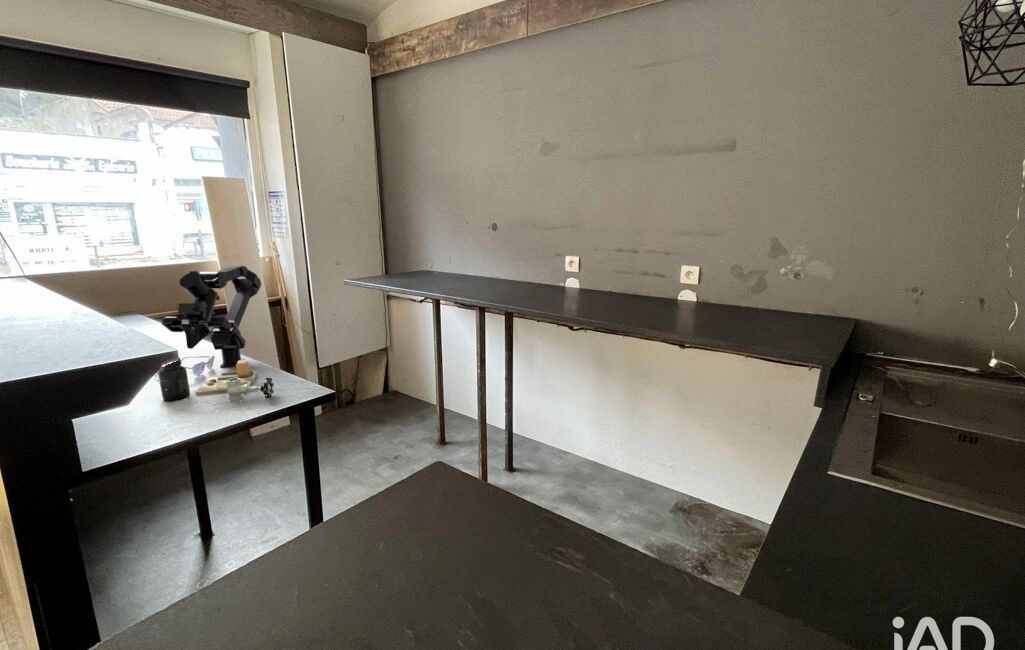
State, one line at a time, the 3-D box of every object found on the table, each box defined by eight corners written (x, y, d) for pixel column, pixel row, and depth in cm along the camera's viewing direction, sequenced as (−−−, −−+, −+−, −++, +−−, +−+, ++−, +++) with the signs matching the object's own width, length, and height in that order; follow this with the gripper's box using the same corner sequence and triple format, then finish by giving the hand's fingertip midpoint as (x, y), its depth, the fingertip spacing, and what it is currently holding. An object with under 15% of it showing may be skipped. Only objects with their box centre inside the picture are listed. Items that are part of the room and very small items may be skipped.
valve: (224, 405, 140) (268, 402, 142) (220, 383, 138) (265, 381, 140) (232, 396, 146) (275, 394, 148) (229, 375, 145) (272, 373, 147)
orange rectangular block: (239, 373, 161) (238, 360, 160) (249, 372, 162) (248, 359, 161) (237, 376, 158) (235, 363, 157) (247, 375, 159) (245, 362, 158)
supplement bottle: (157, 400, 142) (150, 362, 140) (178, 392, 149) (172, 355, 146) (174, 403, 141) (168, 364, 138) (196, 394, 147) (189, 357, 144)
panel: (211, 378, 160) (210, 373, 160) (257, 375, 164) (256, 370, 164) (195, 396, 146) (194, 390, 145) (247, 391, 150) (246, 386, 149)
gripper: (159, 291, 149) (142, 336, 142) (220, 291, 150) (207, 336, 143) (179, 310, 159) (164, 352, 152) (237, 309, 160) (225, 352, 153)
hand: (189, 348), depth 149 cm, fingers closed
